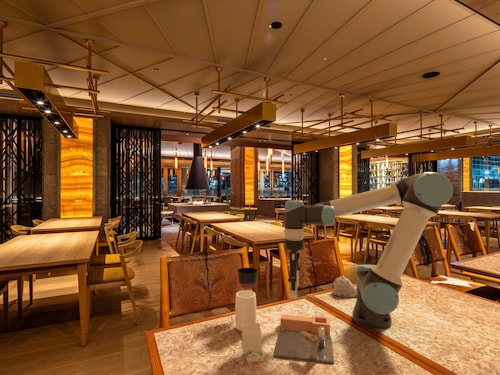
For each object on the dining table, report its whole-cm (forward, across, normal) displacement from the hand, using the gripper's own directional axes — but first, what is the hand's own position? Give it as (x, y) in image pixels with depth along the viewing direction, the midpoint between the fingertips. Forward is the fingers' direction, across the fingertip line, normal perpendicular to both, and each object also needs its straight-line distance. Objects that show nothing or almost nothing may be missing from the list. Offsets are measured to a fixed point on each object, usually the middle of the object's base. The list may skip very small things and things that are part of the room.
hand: (294, 291), depth 112 cm
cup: (+15, +5, -19) cm, 24 cm away
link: (+14, 0, 0) cm, 14 cm away
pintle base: (+14, +14, +4) cm, 20 cm away
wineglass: (+15, -6, -21) cm, 26 cm away
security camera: (+15, +22, -13) cm, 30 cm away
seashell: (+15, -42, +24) cm, 51 cm away
